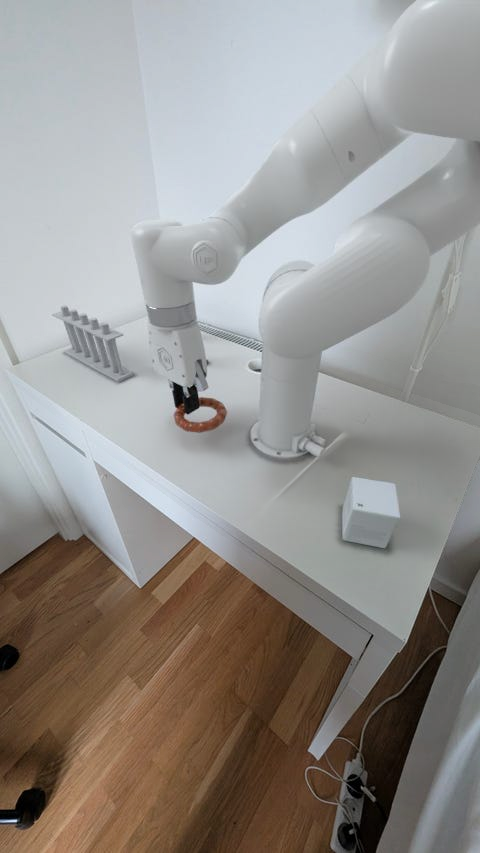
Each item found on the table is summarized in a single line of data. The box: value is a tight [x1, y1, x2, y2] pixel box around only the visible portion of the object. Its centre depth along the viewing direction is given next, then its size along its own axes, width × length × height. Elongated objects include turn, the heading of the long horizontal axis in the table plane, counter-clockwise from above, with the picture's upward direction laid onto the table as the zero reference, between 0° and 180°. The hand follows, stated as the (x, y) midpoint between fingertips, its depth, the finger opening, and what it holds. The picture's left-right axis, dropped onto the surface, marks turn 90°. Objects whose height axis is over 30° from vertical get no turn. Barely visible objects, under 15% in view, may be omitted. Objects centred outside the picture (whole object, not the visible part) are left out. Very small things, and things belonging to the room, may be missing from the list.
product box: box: [341, 476, 401, 549], centre depth 48 cm, size 6×6×7 cm
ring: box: [173, 396, 228, 434], centre depth 62 cm, size 10×10×2 cm
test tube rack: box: [51, 305, 134, 383], centre depth 85 cm, size 25×4×13 cm, turn 51°
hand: (187, 407), depth 64 cm, fingers closed on ring, 2 cm apart
